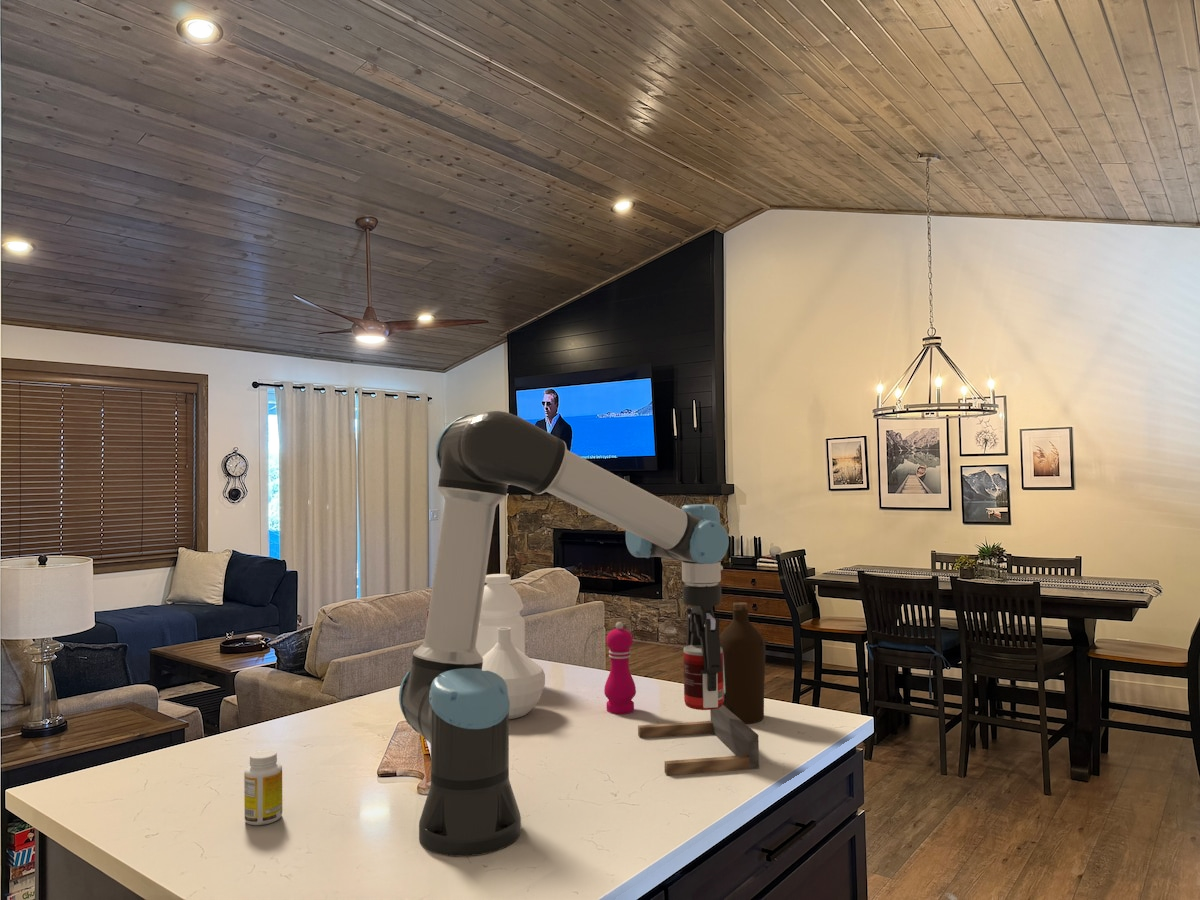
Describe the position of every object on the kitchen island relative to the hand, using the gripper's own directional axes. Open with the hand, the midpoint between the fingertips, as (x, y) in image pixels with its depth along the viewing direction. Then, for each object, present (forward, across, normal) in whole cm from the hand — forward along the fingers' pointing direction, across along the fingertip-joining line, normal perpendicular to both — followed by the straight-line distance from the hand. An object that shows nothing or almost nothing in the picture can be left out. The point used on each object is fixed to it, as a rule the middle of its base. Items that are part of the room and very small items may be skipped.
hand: (703, 700), depth 162 cm
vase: (+10, +33, +37) cm, 50 cm away
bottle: (+10, +59, +37) cm, 70 cm away
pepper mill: (+10, +30, +11) cm, 33 cm away
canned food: (+1, 0, 0) cm, 1 cm away
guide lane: (+10, 0, +3) cm, 10 cm away
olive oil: (+10, +19, -14) cm, 26 cm away
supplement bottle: (+9, -17, +78) cm, 80 cm away
